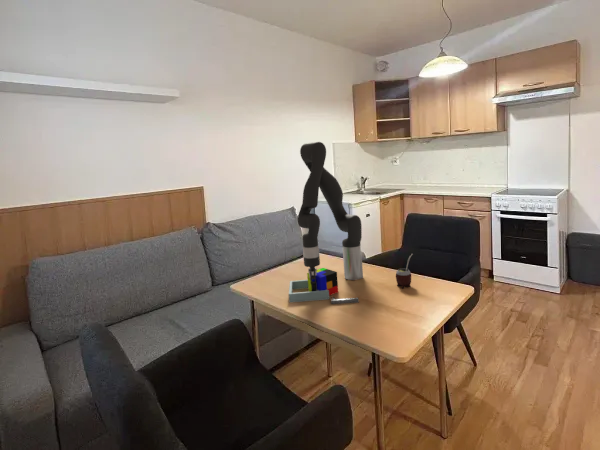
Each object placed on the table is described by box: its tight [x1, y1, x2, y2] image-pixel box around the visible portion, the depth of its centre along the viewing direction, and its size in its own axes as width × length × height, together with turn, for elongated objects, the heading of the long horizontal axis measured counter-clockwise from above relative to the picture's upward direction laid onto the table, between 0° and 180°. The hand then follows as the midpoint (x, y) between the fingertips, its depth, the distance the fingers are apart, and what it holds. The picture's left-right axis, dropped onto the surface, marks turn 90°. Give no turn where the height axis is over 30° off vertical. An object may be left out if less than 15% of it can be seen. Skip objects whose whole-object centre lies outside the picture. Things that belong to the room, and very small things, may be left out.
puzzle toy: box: [306, 267, 339, 296], centre depth 181 cm, size 10×10×10 cm
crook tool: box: [330, 296, 360, 305], centre depth 169 cm, size 12×4×2 cm, turn 87°
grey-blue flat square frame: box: [288, 279, 330, 303], centre depth 181 cm, size 18×17×4 cm
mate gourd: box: [395, 253, 414, 289], centre depth 179 cm, size 8×8×15 cm
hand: (313, 288), depth 181 cm, fingers open, 8 cm apart
